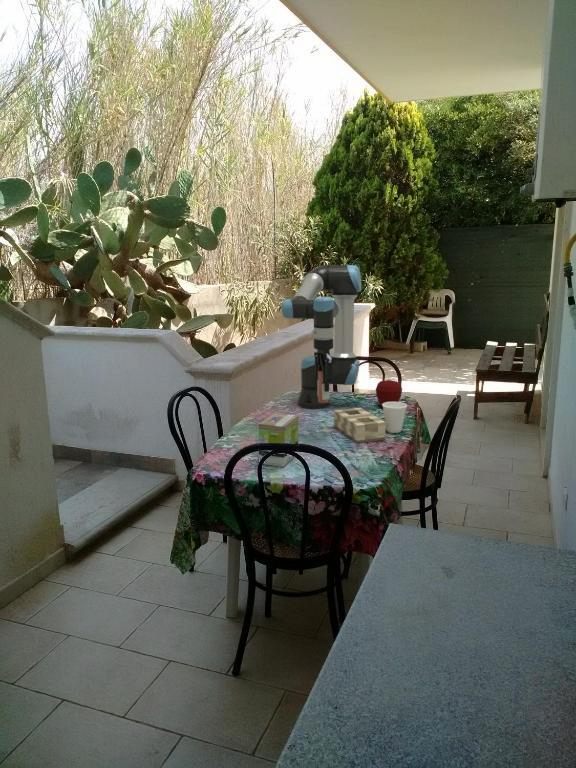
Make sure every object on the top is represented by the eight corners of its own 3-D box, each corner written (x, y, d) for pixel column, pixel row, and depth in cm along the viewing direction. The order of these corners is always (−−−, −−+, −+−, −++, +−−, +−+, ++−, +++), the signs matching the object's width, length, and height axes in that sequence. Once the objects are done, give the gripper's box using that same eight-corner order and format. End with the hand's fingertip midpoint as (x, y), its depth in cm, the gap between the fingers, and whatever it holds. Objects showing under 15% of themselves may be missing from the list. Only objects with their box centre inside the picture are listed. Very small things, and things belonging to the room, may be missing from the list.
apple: (374, 409, 268) (375, 381, 265) (376, 403, 279) (377, 375, 276) (401, 410, 265) (402, 382, 262) (402, 404, 276) (403, 376, 273)
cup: (378, 433, 234) (379, 406, 232) (384, 426, 243) (385, 400, 241) (403, 436, 231) (404, 409, 228) (408, 428, 240) (409, 402, 237)
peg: (316, 400, 229) (316, 371, 226) (326, 399, 231) (326, 370, 228) (320, 403, 226) (320, 373, 223) (330, 402, 227) (330, 372, 224)
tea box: (285, 467, 199) (285, 426, 196) (258, 464, 202) (257, 423, 199) (299, 453, 213) (298, 414, 210) (273, 450, 216) (272, 411, 213)
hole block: (333, 426, 243) (333, 410, 242) (359, 423, 247) (360, 407, 245) (357, 443, 223) (357, 425, 221) (385, 439, 227) (385, 422, 225)
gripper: (306, 335, 229) (306, 393, 234) (323, 342, 213) (322, 404, 219) (323, 334, 231) (323, 391, 237) (341, 341, 215) (341, 402, 221)
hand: (323, 397), depth 228 cm, fingers closed on peg, 4 cm apart
